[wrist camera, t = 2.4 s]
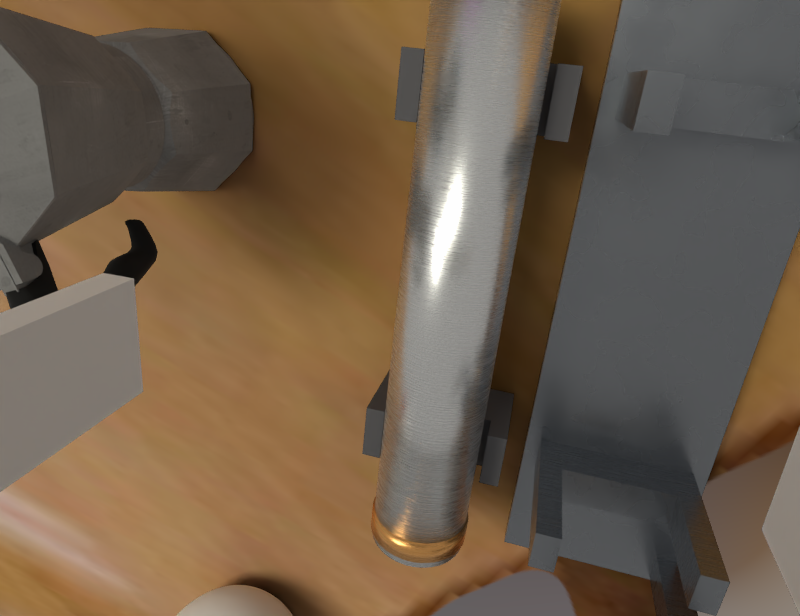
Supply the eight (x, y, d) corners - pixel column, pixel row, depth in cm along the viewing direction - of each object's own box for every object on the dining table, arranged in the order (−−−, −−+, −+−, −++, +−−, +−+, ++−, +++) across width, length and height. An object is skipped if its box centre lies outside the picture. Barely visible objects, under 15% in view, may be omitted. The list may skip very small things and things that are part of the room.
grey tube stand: (637, -76, 26) (719, -246, 13) (905, -59, 24) (1348, -240, 11) (504, 538, 39) (473, 782, 26) (671, 581, 37) (733, 871, 24)
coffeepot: (72, 24, 34) (-371, -27, 18) (205, -45, 31) (-186, -183, 15) (183, 273, 38) (-98, 416, 22) (310, 234, 35) (93, 368, 19)
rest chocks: (425, 51, 30) (401, 46, 26) (579, 68, 29) (583, 66, 24) (386, 409, 38) (362, 453, 34) (505, 436, 37) (497, 486, 32)
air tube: (446, -38, 26) (420, -65, 21) (570, -29, 25) (572, -54, 20) (384, 491, 36) (358, 553, 31) (470, 513, 35) (455, 580, 30)
